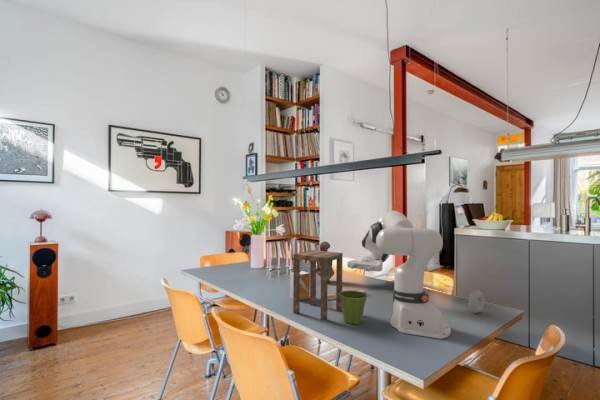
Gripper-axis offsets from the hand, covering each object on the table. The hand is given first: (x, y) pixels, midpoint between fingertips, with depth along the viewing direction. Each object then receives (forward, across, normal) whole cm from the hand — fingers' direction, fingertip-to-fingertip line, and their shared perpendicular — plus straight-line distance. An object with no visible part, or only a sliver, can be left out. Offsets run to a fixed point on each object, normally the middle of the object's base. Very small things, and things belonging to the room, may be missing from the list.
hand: (359, 268), depth 183 cm
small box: (+34, -18, +11) cm, 40 cm away
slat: (+19, 0, +12) cm, 22 cm away
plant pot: (+48, +18, +10) cm, 53 cm away
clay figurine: (-3, -24, +12) cm, 27 cm away
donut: (+7, +59, +12) cm, 61 cm away
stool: (+46, 0, +10) cm, 48 cm away
